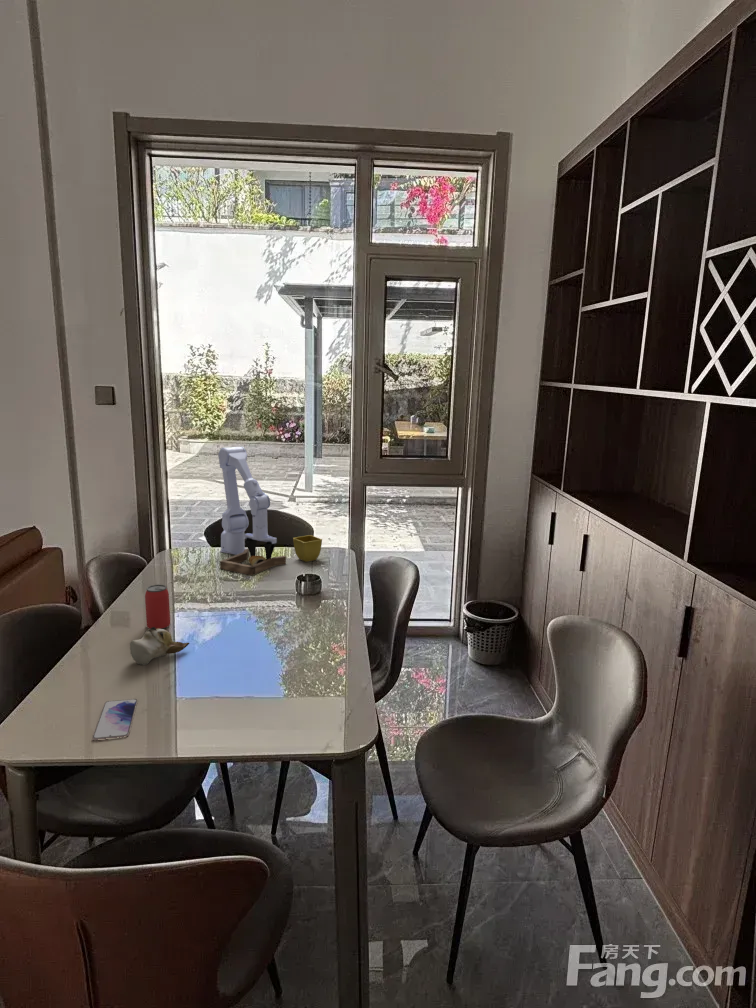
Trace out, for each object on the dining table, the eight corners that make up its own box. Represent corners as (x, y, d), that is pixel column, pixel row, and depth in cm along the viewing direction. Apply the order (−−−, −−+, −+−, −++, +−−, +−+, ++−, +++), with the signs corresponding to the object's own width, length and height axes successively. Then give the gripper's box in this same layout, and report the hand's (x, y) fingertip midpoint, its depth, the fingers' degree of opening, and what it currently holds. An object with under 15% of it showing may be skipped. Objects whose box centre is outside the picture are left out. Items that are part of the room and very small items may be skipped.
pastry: (244, 562, 241) (244, 553, 240) (261, 560, 245) (260, 550, 244) (252, 568, 233) (252, 559, 232) (269, 566, 237) (269, 557, 236)
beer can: (162, 631, 175) (160, 592, 173) (142, 629, 177) (139, 590, 174) (174, 622, 182) (172, 584, 179) (154, 620, 183) (152, 583, 180)
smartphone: (138, 698, 139) (128, 735, 125) (138, 701, 139) (128, 739, 125) (104, 700, 137) (90, 739, 123) (104, 704, 137) (91, 743, 123)
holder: (215, 567, 234) (215, 560, 233) (246, 555, 250) (246, 548, 249) (257, 576, 224) (257, 568, 224) (287, 563, 240) (286, 556, 240)
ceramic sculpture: (117, 630, 155) (163, 614, 168) (117, 662, 156) (163, 644, 169) (145, 640, 150) (191, 623, 163) (145, 673, 151) (191, 653, 164)
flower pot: (310, 555, 252) (310, 534, 250) (322, 560, 245) (322, 539, 243) (292, 559, 246) (292, 537, 244) (304, 564, 240) (304, 542, 238)
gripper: (281, 525, 239) (281, 558, 242) (251, 520, 246) (252, 553, 248) (270, 529, 233) (270, 563, 236) (240, 524, 239) (241, 557, 242)
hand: (260, 558), depth 242 cm, fingers open, 7 cm apart
